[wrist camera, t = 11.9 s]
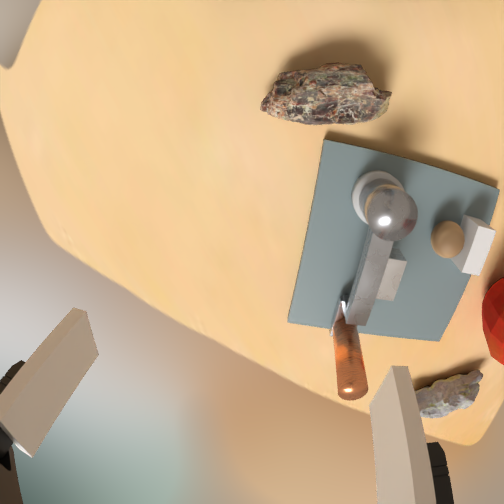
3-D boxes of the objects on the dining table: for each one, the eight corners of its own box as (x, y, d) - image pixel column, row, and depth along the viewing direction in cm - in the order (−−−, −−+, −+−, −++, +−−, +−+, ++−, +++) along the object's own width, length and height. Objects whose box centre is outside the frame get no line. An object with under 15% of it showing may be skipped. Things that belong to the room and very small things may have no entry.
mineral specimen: (398, 407, 49) (404, 435, 43) (400, 384, 47) (407, 414, 41) (470, 388, 46) (480, 413, 39) (476, 363, 43) (489, 389, 37)
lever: (361, 171, 32) (392, 202, 21) (412, 183, 31) (459, 218, 20) (322, 329, 41) (326, 398, 30) (365, 334, 40) (378, 401, 29)
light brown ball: (431, 211, 33) (445, 224, 29) (459, 219, 32) (475, 232, 28) (421, 245, 35) (433, 261, 31) (448, 251, 34) (462, 267, 30)
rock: (410, 108, 24) (342, 25, 21) (322, 180, 29) (248, 103, 25) (384, 101, 30) (327, 34, 27) (312, 161, 35) (251, 98, 31)
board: (323, 138, 33) (328, 143, 28) (495, 187, 31) (516, 199, 26) (287, 317, 43) (285, 341, 38) (436, 336, 41) (446, 358, 37)
